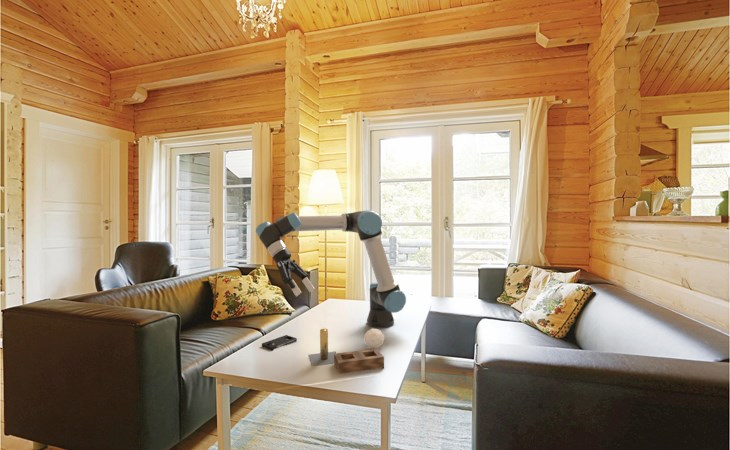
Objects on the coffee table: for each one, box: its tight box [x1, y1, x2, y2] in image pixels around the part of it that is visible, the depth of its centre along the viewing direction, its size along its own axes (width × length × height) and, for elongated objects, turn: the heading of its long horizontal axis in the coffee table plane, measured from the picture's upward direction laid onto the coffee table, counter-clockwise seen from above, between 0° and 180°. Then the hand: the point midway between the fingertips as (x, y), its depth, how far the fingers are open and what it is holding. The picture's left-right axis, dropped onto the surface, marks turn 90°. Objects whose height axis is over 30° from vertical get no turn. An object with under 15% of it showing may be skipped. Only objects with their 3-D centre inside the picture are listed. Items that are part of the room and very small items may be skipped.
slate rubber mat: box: [307, 351, 337, 367], centre depth 141 cm, size 12×12×1 cm
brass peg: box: [319, 328, 329, 360], centre depth 141 cm, size 3×3×12 cm
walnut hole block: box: [333, 348, 385, 375], centre depth 134 cm, size 18×9×4 cm, turn 106°
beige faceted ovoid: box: [363, 327, 387, 349], centre depth 154 cm, size 9×9×12 cm
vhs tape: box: [261, 334, 297, 351], centre depth 159 cm, size 14×8×2 cm, turn 142°
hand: (305, 292), depth 146 cm, fingers open, 13 cm apart
